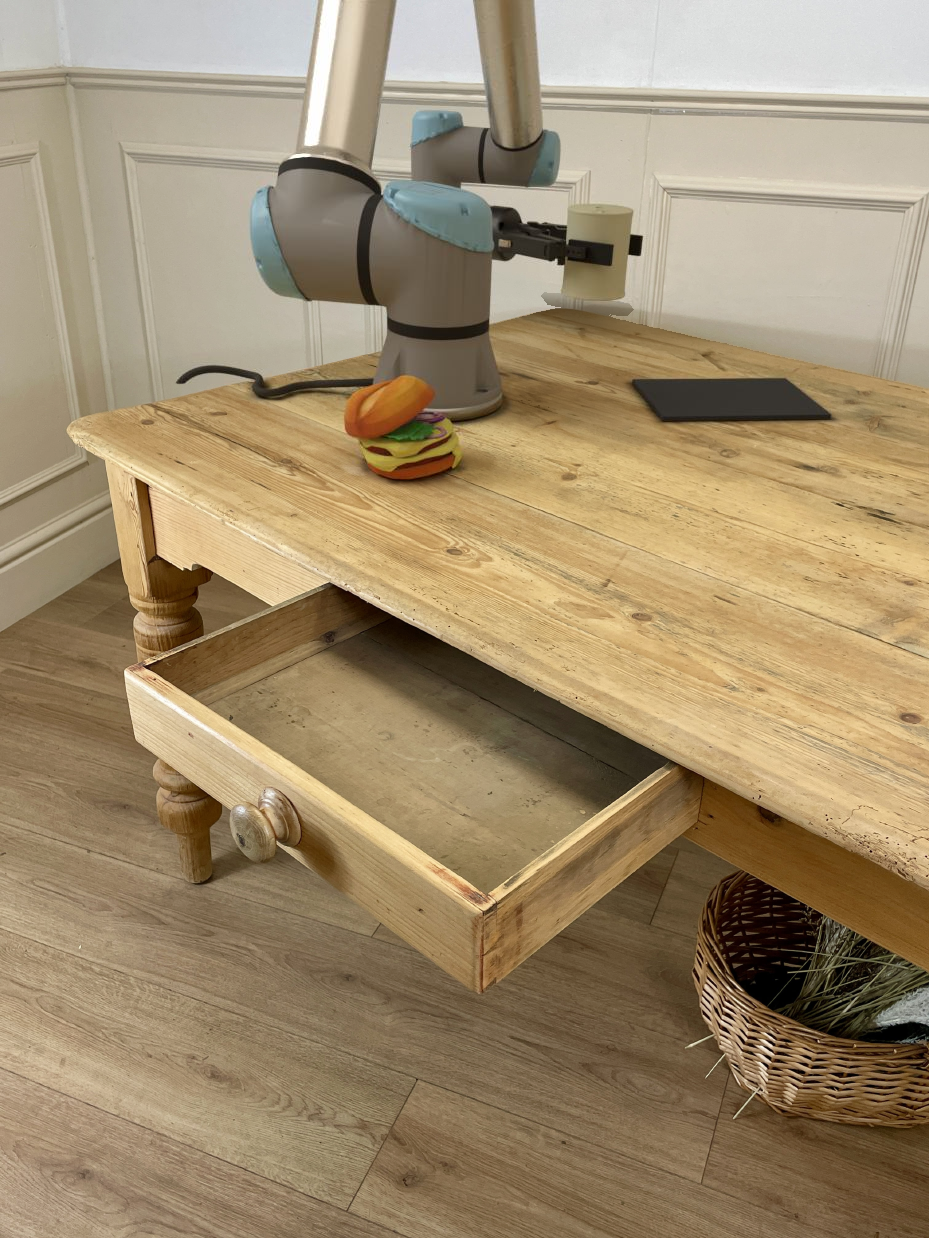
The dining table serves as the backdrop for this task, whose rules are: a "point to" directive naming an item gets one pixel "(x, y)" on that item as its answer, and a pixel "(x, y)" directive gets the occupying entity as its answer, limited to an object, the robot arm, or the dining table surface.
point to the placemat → (728, 399)
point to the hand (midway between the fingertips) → (626, 250)
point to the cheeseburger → (401, 429)
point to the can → (603, 228)
